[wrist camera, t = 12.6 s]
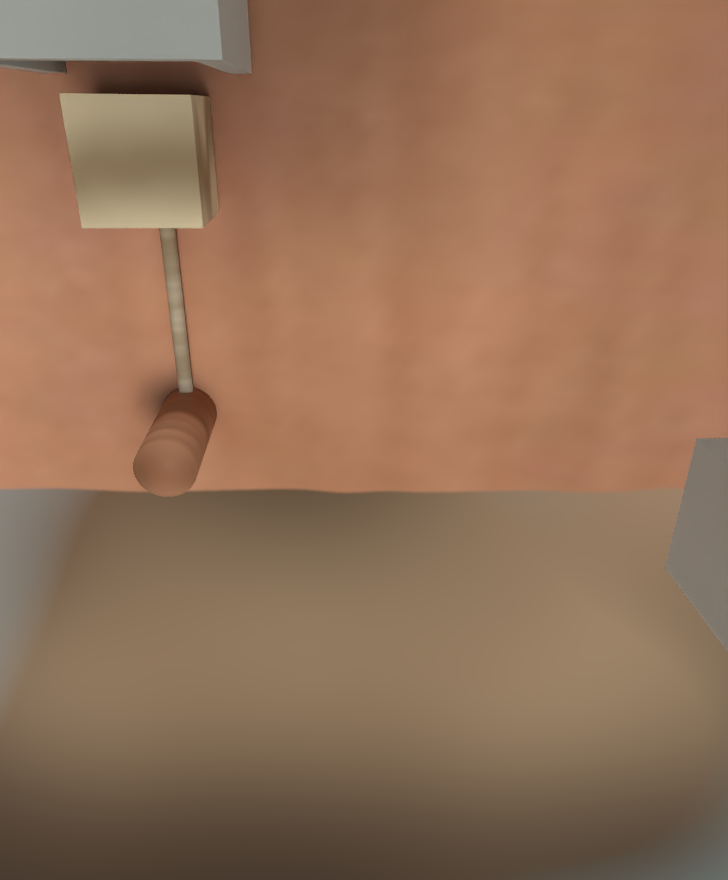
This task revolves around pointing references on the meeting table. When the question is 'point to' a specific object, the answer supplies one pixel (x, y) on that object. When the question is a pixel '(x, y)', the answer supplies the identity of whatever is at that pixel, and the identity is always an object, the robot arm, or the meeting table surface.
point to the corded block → (152, 206)
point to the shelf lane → (124, 33)
